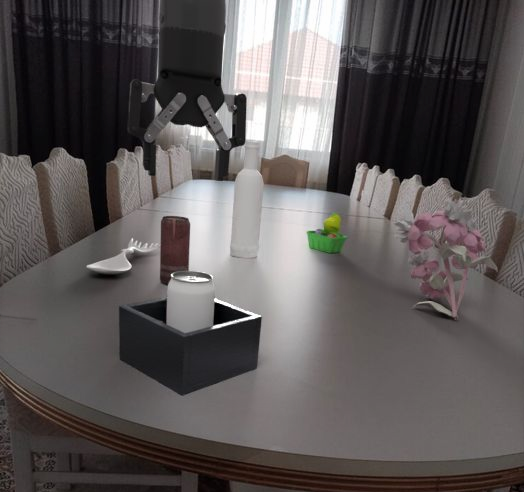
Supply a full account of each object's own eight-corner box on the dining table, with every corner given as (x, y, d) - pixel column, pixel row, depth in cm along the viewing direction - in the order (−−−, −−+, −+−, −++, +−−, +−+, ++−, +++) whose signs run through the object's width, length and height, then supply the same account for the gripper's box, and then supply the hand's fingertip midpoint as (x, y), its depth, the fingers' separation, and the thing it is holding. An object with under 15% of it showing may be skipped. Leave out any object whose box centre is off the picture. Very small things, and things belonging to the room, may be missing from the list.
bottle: (247, 259, 141) (257, 141, 130) (224, 254, 144) (231, 138, 133) (263, 255, 147) (273, 142, 136) (240, 250, 151) (248, 140, 140)
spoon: (163, 253, 139) (164, 240, 138) (120, 282, 110) (120, 266, 108) (131, 249, 140) (131, 236, 139) (79, 277, 110) (78, 261, 109)
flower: (523, 311, 111) (505, 197, 111) (481, 319, 95) (460, 185, 95) (436, 325, 126) (420, 223, 126) (387, 333, 110) (368, 217, 110)
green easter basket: (303, 247, 165) (307, 210, 161) (321, 245, 171) (326, 210, 166) (330, 254, 157) (335, 216, 153) (348, 252, 163) (354, 216, 159)
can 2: (209, 348, 78) (213, 271, 73) (212, 366, 72) (218, 283, 68) (165, 348, 77) (167, 268, 72) (165, 366, 71) (167, 281, 66)
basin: (181, 395, 66) (184, 337, 63) (119, 359, 74) (118, 306, 71) (257, 368, 76) (262, 316, 73) (194, 338, 84) (196, 291, 81)
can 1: (160, 286, 110) (161, 219, 105) (159, 278, 116) (160, 214, 110) (189, 287, 111) (191, 221, 106) (186, 279, 117) (189, 216, 112)
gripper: (243, 44, 65) (232, 179, 71) (126, 25, 61) (125, 170, 67) (260, 36, 59) (247, 185, 65) (130, 14, 54) (130, 176, 60)
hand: (185, 178), depth 66 cm, fingers open, 8 cm apart
